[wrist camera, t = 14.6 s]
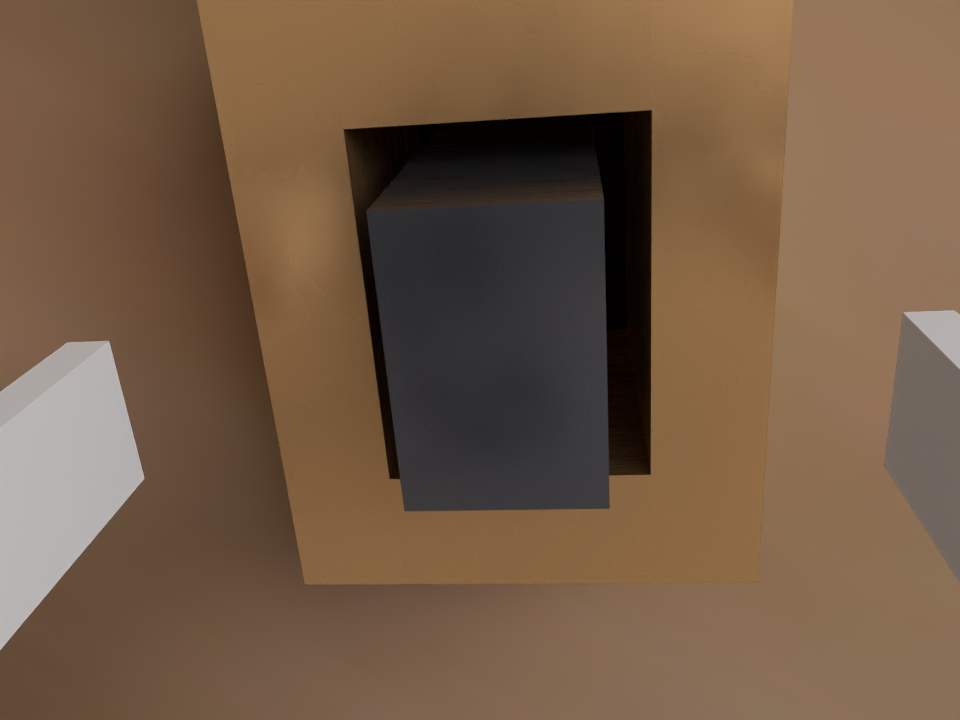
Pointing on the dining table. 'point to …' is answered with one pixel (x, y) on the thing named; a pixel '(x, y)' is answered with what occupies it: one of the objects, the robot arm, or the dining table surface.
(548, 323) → the dark grey block
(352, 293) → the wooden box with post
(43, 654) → the dining table surface
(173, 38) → the dining table surface
